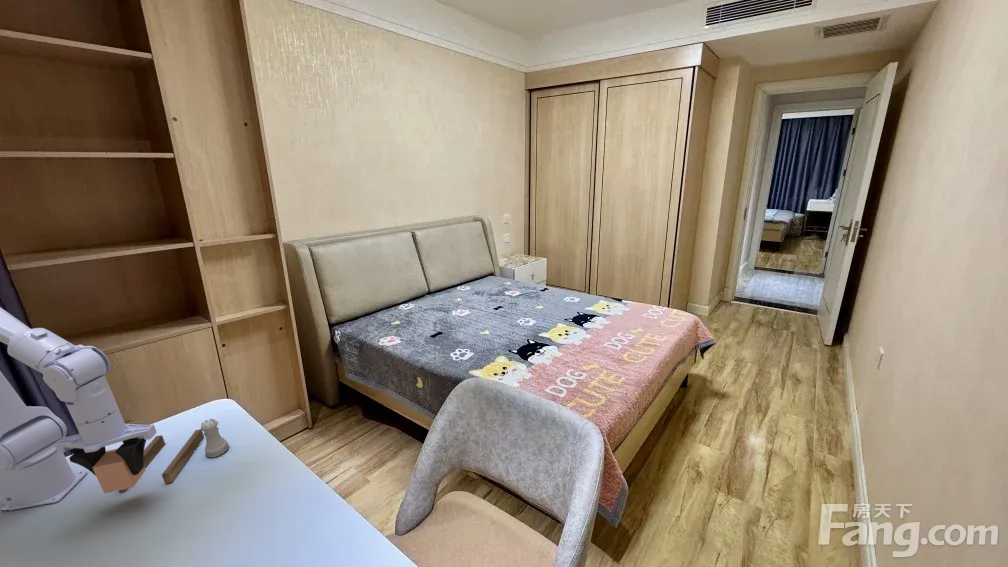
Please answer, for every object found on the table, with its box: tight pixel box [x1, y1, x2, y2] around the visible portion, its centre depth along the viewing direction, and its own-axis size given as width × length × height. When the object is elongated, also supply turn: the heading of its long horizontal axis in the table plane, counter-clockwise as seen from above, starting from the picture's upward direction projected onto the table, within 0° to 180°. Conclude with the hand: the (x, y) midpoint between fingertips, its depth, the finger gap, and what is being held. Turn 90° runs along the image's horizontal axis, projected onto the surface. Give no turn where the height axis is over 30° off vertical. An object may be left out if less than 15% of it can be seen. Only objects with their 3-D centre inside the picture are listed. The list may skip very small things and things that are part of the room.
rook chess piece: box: [199, 418, 230, 459], centre depth 90 cm, size 4×4×8 cm
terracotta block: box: [93, 448, 146, 494], centre depth 76 cm, size 4×4×6 cm
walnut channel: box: [118, 429, 205, 493], centre depth 88 cm, size 9×14×2 cm
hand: (122, 473), depth 77 cm, fingers closed on terracotta block, 5 cm apart
